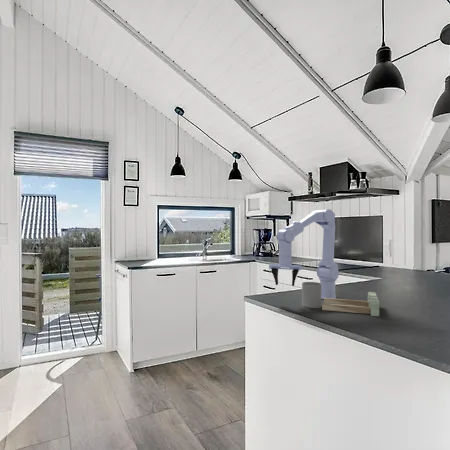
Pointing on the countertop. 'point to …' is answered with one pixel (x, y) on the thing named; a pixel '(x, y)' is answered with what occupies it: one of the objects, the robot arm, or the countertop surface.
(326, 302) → the wooden tray
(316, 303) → the cup
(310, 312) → the countertop surface
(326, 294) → the robot arm
